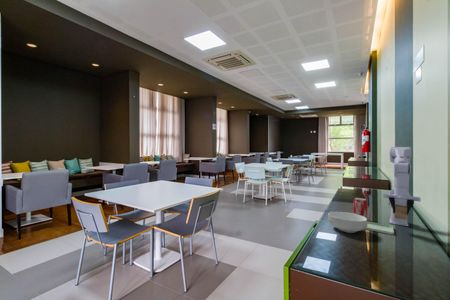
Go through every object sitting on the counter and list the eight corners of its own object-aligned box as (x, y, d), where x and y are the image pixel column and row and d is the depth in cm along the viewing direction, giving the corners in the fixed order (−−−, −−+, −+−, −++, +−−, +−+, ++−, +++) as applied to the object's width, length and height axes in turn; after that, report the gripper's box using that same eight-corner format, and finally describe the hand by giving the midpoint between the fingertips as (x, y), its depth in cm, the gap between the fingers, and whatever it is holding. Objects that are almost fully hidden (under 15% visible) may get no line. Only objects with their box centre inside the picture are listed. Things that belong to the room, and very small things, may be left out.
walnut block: (394, 216, 113) (394, 204, 113) (405, 217, 110) (406, 205, 110) (395, 218, 109) (395, 206, 109) (406, 220, 107) (407, 207, 107)
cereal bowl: (366, 228, 112) (367, 215, 112) (366, 239, 98) (367, 223, 98) (329, 222, 121) (330, 209, 121) (325, 230, 107) (325, 216, 107)
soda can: (369, 222, 123) (369, 200, 123) (355, 220, 125) (356, 199, 125) (363, 218, 130) (364, 198, 130) (350, 217, 132) (351, 197, 132)
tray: (365, 223, 121) (365, 221, 121) (392, 228, 114) (392, 226, 114) (363, 229, 111) (364, 226, 111) (393, 235, 104) (393, 232, 104)
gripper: (383, 185, 111) (382, 212, 111) (421, 189, 103) (421, 218, 103) (383, 184, 117) (382, 209, 117) (419, 187, 108) (418, 215, 108)
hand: (400, 213), depth 110 cm, fingers closed on walnut block, 4 cm apart
